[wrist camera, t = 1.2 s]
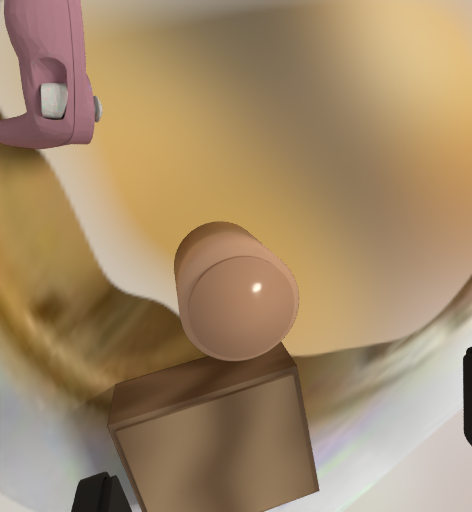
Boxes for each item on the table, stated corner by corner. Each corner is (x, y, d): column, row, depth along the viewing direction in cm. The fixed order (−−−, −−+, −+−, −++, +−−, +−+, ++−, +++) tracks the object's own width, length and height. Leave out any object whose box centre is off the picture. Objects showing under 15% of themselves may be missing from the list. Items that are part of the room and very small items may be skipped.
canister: (252, 211, 23) (291, 235, 16) (268, 293, 25) (310, 345, 18) (163, 234, 23) (164, 268, 16) (186, 316, 24) (197, 380, 17)
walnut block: (276, 335, 26) (298, 367, 22) (299, 448, 30) (321, 493, 26) (115, 384, 25) (106, 428, 21) (158, 497, 28) (157, 554, 24)
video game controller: (78, 150, 22) (122, 148, 16) (-11, 148, 19) (7, 146, 14) (58, -41, 19) (101, -116, 14) (-49, -74, 16) (-46, -184, 11)
